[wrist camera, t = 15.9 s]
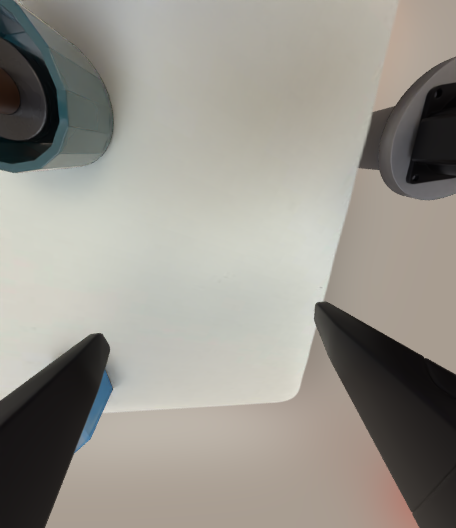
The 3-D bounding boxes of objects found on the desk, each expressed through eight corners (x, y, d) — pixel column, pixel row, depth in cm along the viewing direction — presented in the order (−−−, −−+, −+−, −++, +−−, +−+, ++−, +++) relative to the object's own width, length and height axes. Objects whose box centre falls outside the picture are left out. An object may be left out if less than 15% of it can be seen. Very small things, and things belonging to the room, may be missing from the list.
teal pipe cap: (82, 16, 13) (4, -65, 8) (129, 158, 17) (94, 160, 12) (-40, 38, 13) (-187, -28, 9) (33, 174, 17) (-39, 181, 12)
